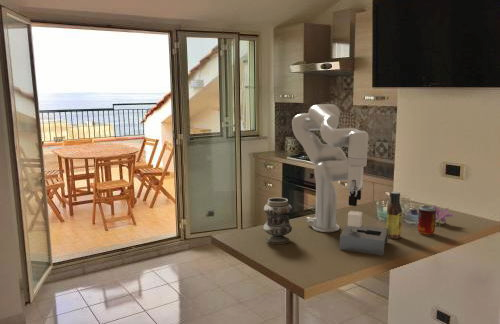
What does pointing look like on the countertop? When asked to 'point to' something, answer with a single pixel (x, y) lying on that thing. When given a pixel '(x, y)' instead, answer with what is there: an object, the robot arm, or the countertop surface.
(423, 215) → the soda can
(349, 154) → the robot arm
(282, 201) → the apothecary jar
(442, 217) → the lily
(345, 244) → the slotted grey box
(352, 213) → the peg
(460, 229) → the countertop surface
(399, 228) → the sauce bottle
